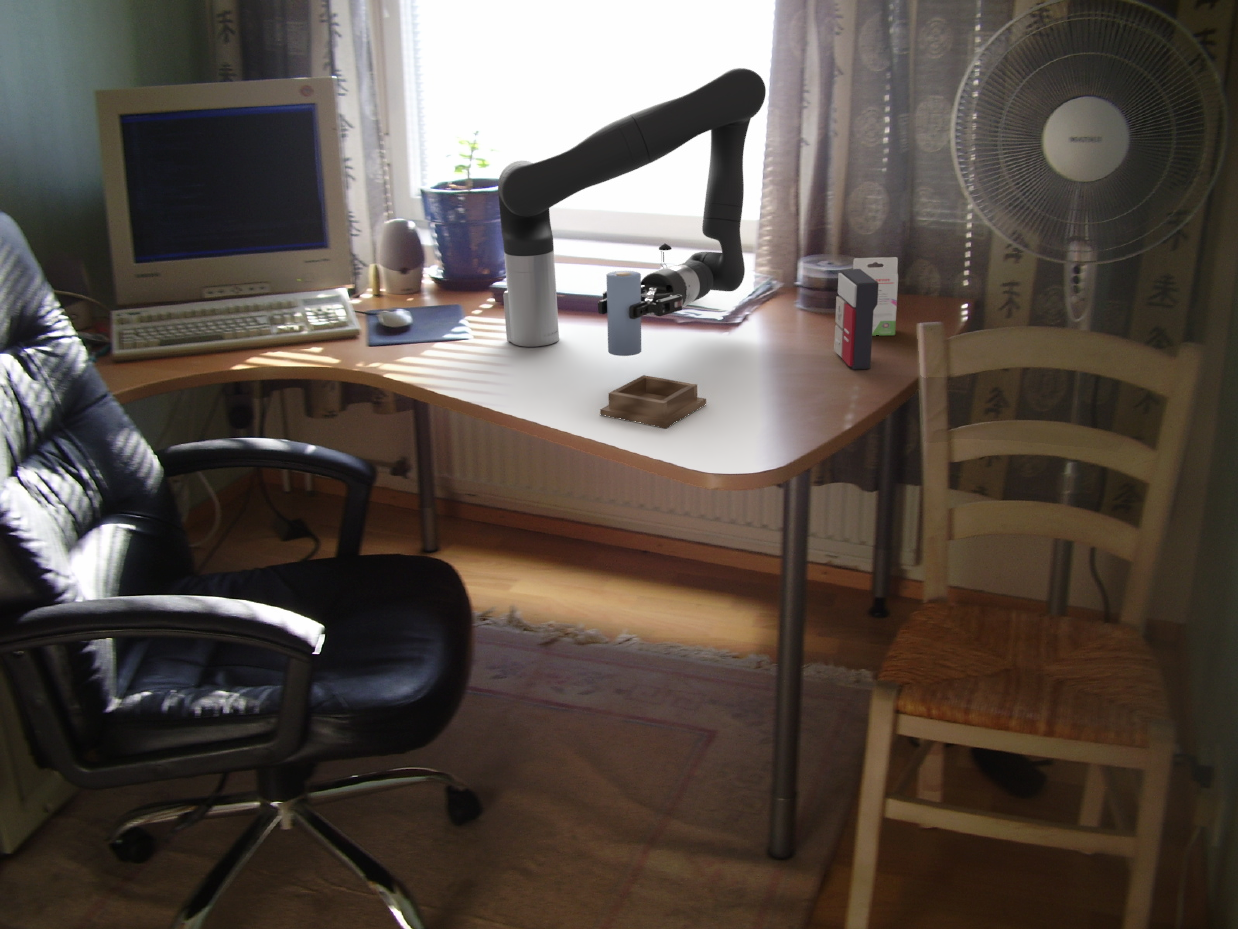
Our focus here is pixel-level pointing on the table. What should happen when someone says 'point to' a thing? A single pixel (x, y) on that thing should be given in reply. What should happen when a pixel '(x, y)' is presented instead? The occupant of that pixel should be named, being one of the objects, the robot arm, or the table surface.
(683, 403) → the walnut holder
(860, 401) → the table surface
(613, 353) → the blue-grey tall cylinder
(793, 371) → the table surface
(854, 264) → the ink box
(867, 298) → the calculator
